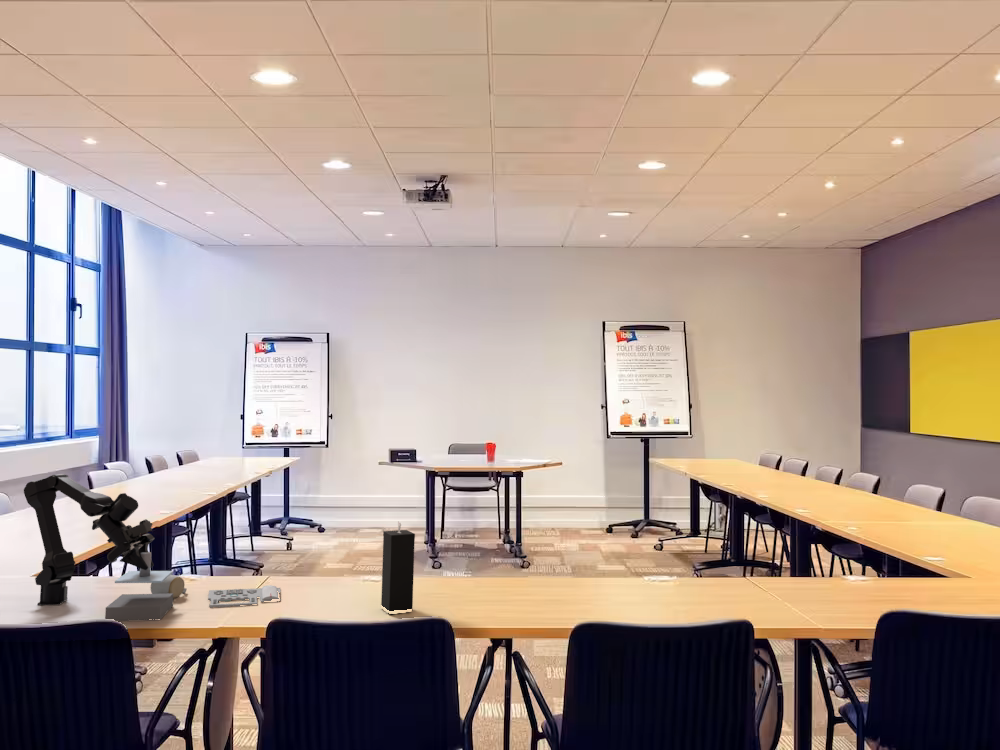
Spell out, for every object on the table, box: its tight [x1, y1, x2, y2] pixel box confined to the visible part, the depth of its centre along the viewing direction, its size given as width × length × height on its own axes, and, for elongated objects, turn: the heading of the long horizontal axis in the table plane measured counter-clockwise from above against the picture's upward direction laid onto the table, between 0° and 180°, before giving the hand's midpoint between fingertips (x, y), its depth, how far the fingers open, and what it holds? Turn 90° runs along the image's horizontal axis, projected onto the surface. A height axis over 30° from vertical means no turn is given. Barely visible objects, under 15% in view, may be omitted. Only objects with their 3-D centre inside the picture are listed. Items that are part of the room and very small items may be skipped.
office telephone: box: [207, 584, 281, 609], centre depth 244 cm, size 23×3×20 cm
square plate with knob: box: [114, 551, 174, 584], centre depth 226 cm, size 13×13×8 cm
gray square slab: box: [104, 593, 174, 622], centre depth 224 cm, size 15×15×4 cm
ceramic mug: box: [150, 574, 187, 599], centre depth 244 cm, size 11×8×8 cm
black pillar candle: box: [380, 521, 416, 611], centre depth 234 cm, size 8×8×28 cm
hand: (149, 567), depth 226 cm, fingers closed on square plate with knob, 3 cm apart
